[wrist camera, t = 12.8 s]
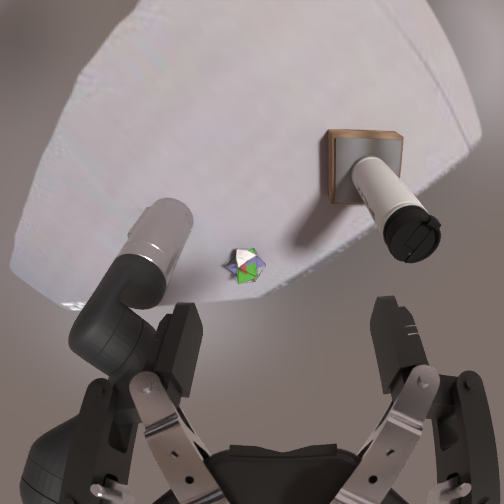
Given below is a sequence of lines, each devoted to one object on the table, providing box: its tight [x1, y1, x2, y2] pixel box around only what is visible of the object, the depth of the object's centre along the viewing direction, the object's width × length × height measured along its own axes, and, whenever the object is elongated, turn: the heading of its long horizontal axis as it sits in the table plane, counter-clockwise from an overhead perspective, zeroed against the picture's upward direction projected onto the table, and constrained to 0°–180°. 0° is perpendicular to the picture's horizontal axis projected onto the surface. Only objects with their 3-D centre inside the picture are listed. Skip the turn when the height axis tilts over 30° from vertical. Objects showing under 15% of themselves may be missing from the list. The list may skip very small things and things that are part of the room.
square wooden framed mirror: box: [328, 129, 403, 204], centre depth 43 cm, size 12×12×4 cm
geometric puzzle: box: [226, 248, 266, 284], centre depth 56 cm, size 7×7×8 cm
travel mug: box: [351, 155, 441, 263], centre depth 34 cm, size 6×7×20 cm
